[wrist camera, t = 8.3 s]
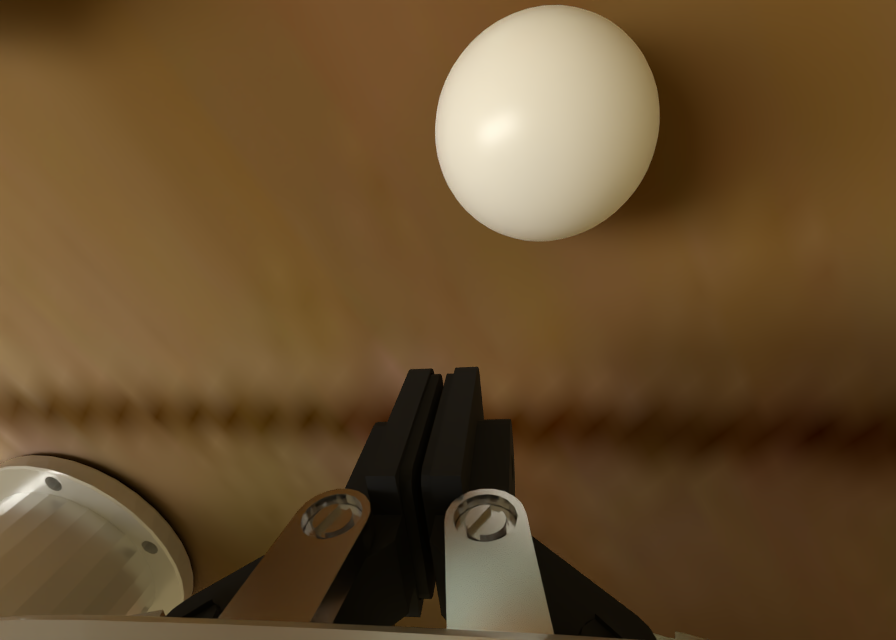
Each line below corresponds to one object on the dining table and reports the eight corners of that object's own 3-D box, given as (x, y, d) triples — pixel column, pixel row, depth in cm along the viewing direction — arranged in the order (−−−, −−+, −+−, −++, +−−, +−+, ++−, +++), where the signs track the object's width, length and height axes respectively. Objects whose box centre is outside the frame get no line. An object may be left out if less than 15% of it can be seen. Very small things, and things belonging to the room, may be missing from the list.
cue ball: (495, -17, 8) (467, -44, 13) (409, 253, 12) (410, 160, 16) (759, 86, 10) (655, 30, 14) (615, 303, 13) (566, 204, 17)
